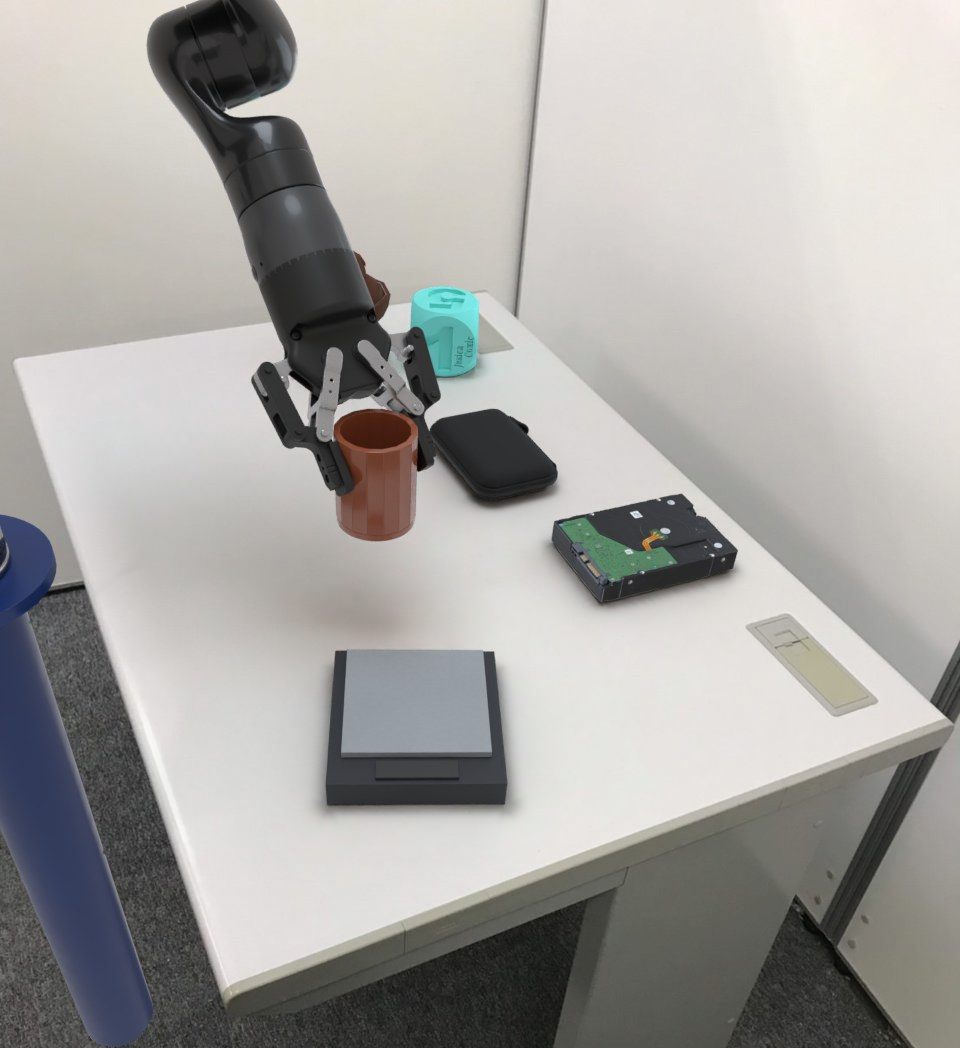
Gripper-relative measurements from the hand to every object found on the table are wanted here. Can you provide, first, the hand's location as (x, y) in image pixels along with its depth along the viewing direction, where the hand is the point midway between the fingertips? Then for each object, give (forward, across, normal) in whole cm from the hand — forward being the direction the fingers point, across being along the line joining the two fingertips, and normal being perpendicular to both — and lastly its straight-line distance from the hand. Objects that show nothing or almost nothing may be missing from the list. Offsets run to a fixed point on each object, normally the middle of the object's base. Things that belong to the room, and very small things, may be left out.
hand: (387, 479), depth 75 cm
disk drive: (+13, +27, +10) cm, 32 cm away
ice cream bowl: (-20, +21, +43) cm, 52 cm away
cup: (+2, 0, +4) cm, 5 cm away
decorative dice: (-17, +32, +40) cm, 54 cm away
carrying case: (-1, +24, +24) cm, 34 cm away
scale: (+19, -4, +4) cm, 20 cm away
